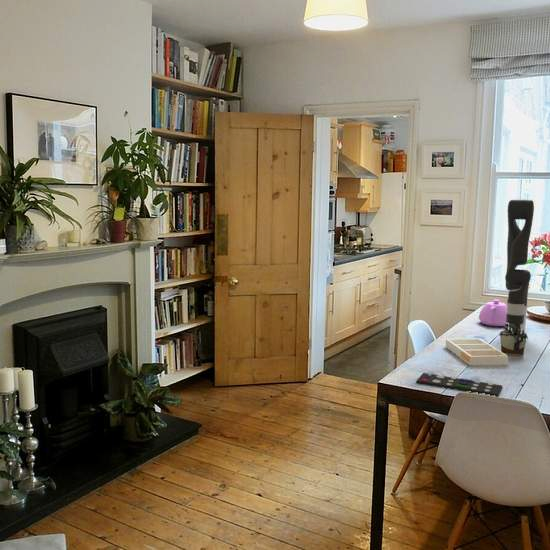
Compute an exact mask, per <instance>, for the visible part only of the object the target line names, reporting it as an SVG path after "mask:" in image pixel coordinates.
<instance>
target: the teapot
mask: <svg viewBox="0 0 550 550" xmlns="http://www.w3.org/2000/svg"><path fill="white" fill-rule="evenodd" d="M506 313H507V304H506V303H505V302H501V301H500V299H493V300H492V301H489V302H486V303H485V304H484V306H482V308H481V309H480V312H479V314H478V320H479V321H480V323H481V324H483V325H485V324H486V325H485V326H491V327H492V326H493V327H498V326H502V327H505V324H506Z"/></svg>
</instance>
